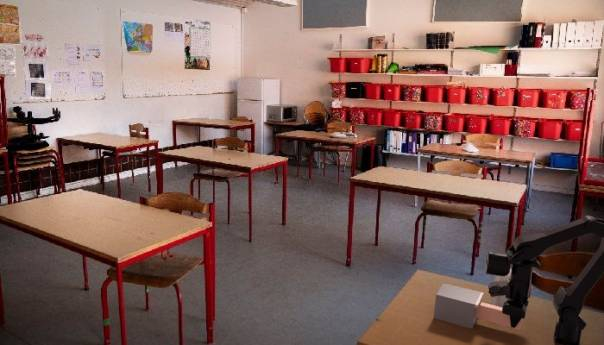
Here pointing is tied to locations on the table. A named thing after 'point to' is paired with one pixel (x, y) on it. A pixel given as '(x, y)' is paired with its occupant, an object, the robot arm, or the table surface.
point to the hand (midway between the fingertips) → (513, 325)
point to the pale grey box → (457, 305)
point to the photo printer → (500, 299)
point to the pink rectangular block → (494, 315)
